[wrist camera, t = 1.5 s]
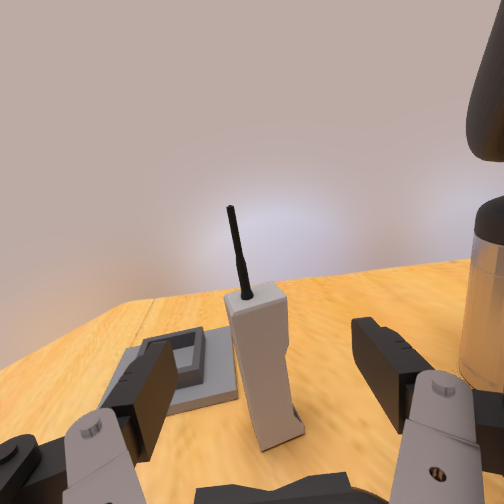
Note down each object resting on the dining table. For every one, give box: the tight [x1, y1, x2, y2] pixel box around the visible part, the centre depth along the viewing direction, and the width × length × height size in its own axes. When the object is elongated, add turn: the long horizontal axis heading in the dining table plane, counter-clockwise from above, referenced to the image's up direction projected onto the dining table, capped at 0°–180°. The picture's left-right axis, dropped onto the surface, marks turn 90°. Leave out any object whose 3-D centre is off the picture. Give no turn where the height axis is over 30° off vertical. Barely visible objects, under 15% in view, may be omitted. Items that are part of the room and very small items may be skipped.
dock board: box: [97, 326, 238, 416], centre depth 39 cm, size 18×14×4 cm
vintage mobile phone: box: [224, 205, 305, 451], centre depth 25 cm, size 4×5×25 cm
